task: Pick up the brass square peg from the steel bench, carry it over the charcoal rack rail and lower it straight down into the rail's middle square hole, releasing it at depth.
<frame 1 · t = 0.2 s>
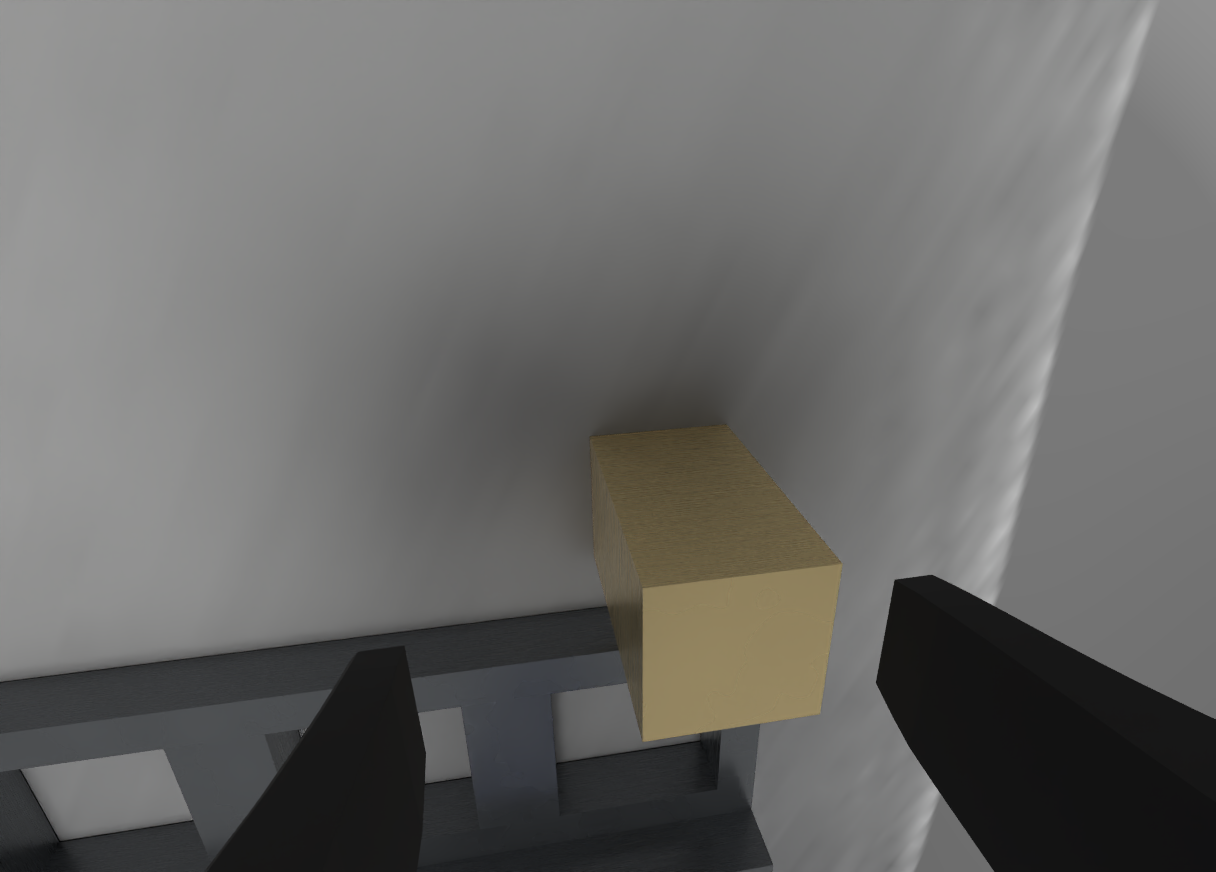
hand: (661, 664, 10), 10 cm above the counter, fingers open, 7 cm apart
brass peg: (658, 491, 20), on the counter
charcoal rail: (388, 732, 22), on the counter
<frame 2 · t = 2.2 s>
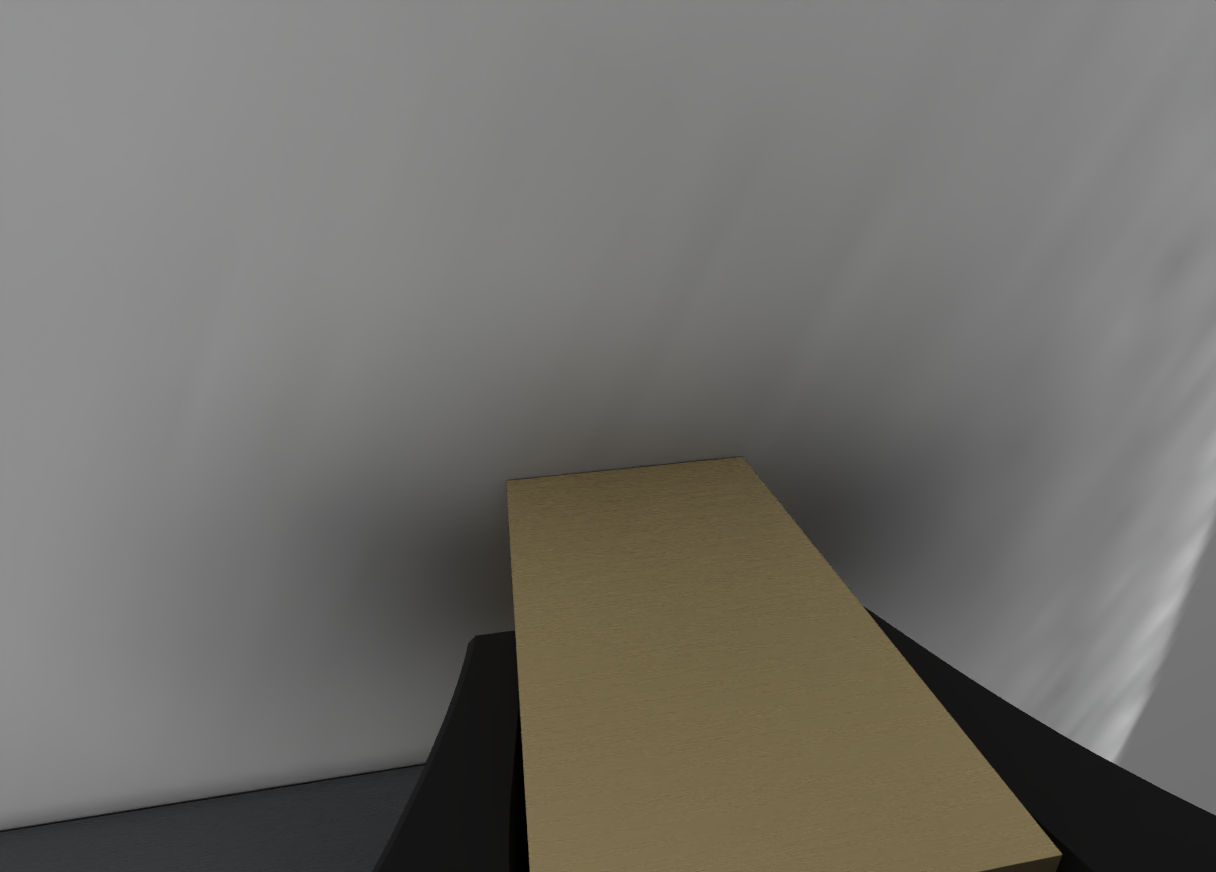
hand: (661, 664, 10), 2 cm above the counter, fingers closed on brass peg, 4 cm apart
brass peg: (629, 568, 12), on the counter, touching gripper
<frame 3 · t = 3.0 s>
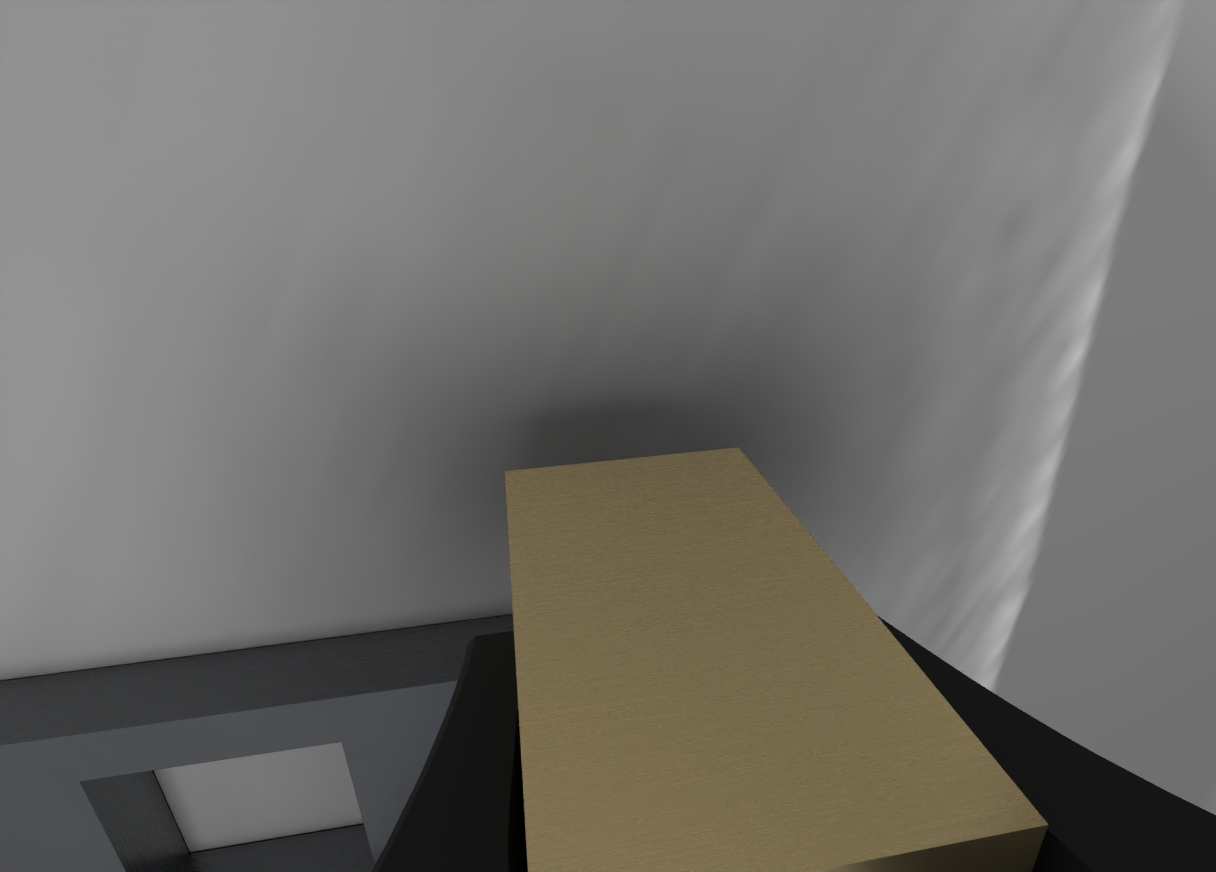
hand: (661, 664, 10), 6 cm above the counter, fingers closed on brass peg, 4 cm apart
brass peg: (626, 558, 12), point 4 cm above the counter, touching gripper
charcoal rail: (269, 769, 18), on the counter
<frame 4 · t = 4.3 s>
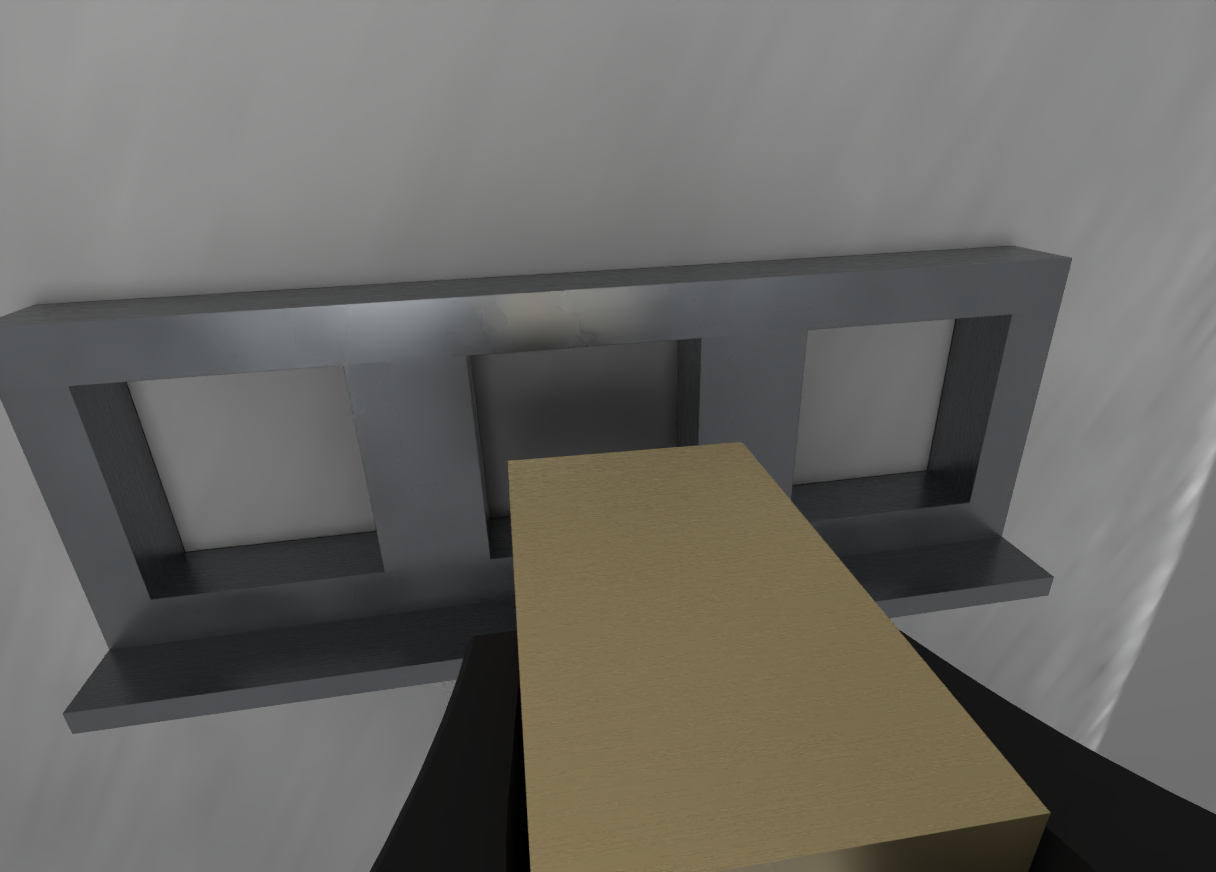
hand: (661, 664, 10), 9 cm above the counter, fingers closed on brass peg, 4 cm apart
brass peg: (627, 551, 12), point 7 cm above the counter, touching gripper
charcoal rail: (580, 422, 18), on the counter
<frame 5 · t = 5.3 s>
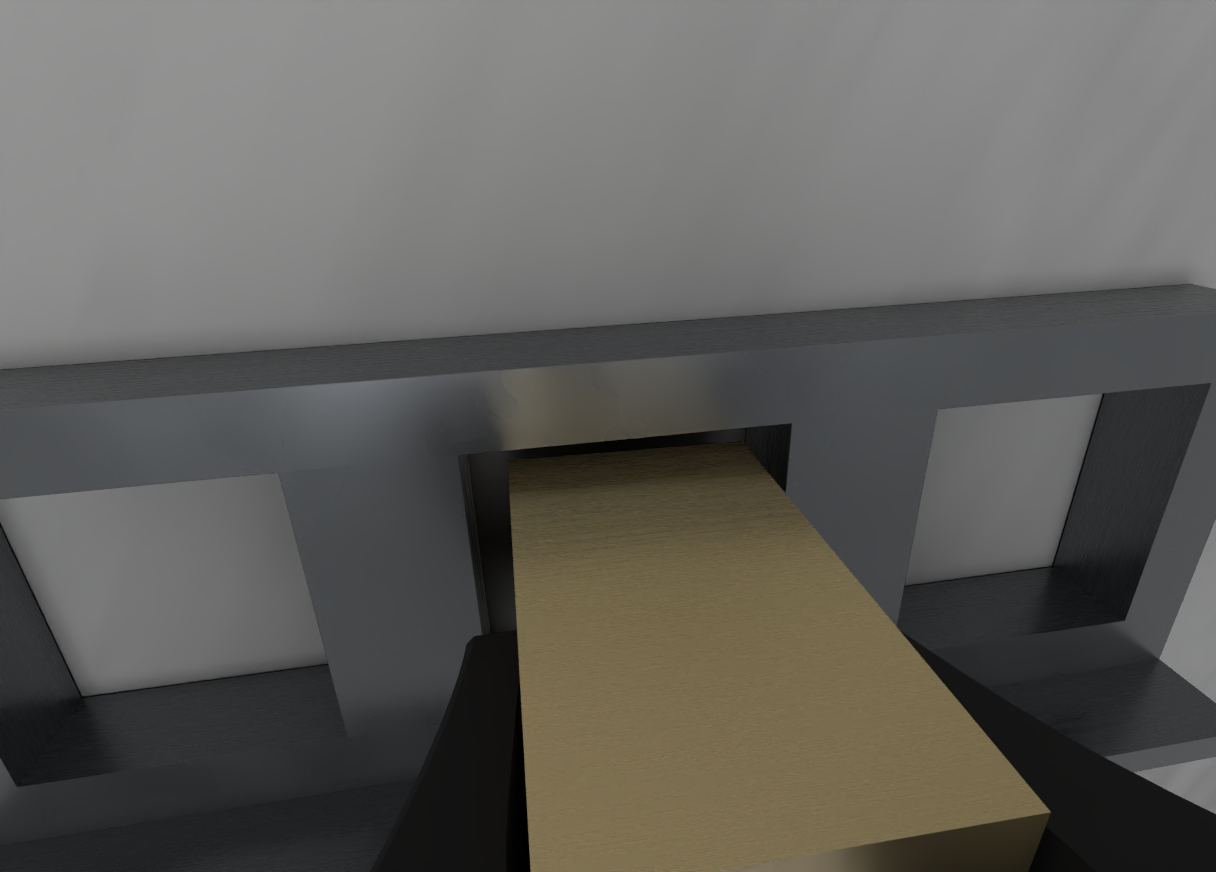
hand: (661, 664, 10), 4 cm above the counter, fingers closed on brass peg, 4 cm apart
brass peg: (627, 551, 12), point 2 cm above the counter, touching gripper
charcoal rail: (613, 519, 13), on the counter
when the fingers open (3 cm above the counter, at t = 6.3 s): brass peg stays where it is, resting in charcoal rail.
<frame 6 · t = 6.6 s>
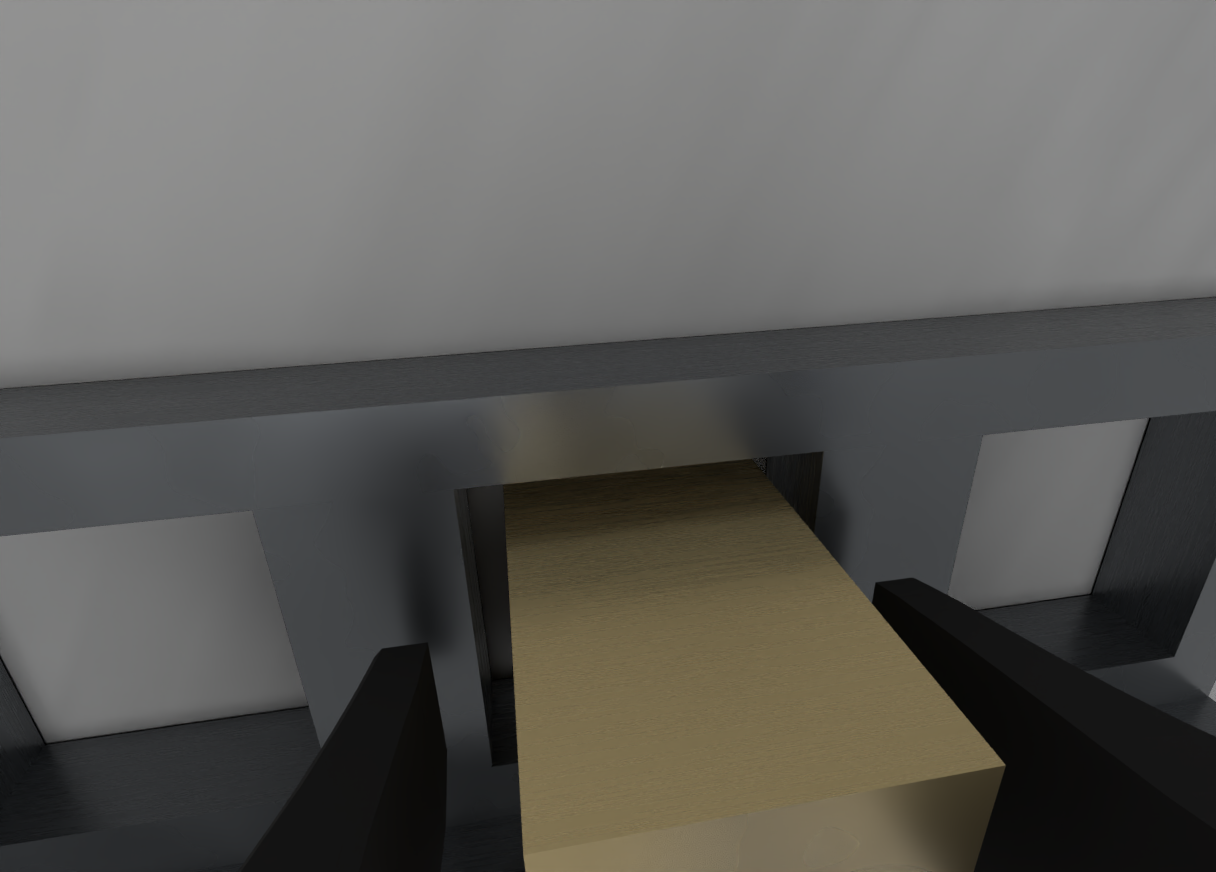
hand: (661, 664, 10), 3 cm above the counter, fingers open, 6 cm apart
brass peg: (620, 539, 12), resting in charcoal rail
charcoal rail: (623, 550, 12), on the counter
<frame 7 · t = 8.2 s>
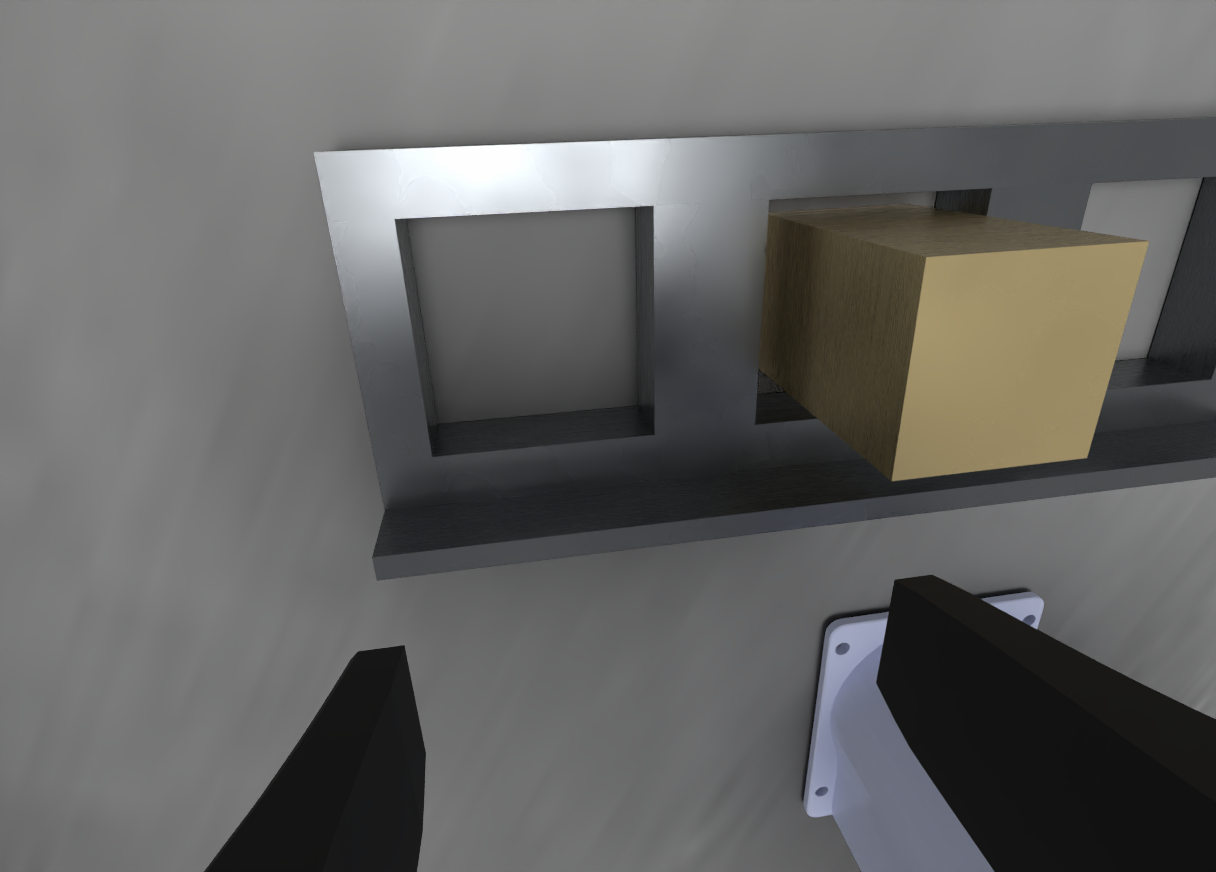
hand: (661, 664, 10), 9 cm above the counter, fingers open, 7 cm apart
brass peg: (828, 286, 18), resting in charcoal rail
charcoal rail: (829, 294, 18), on the counter
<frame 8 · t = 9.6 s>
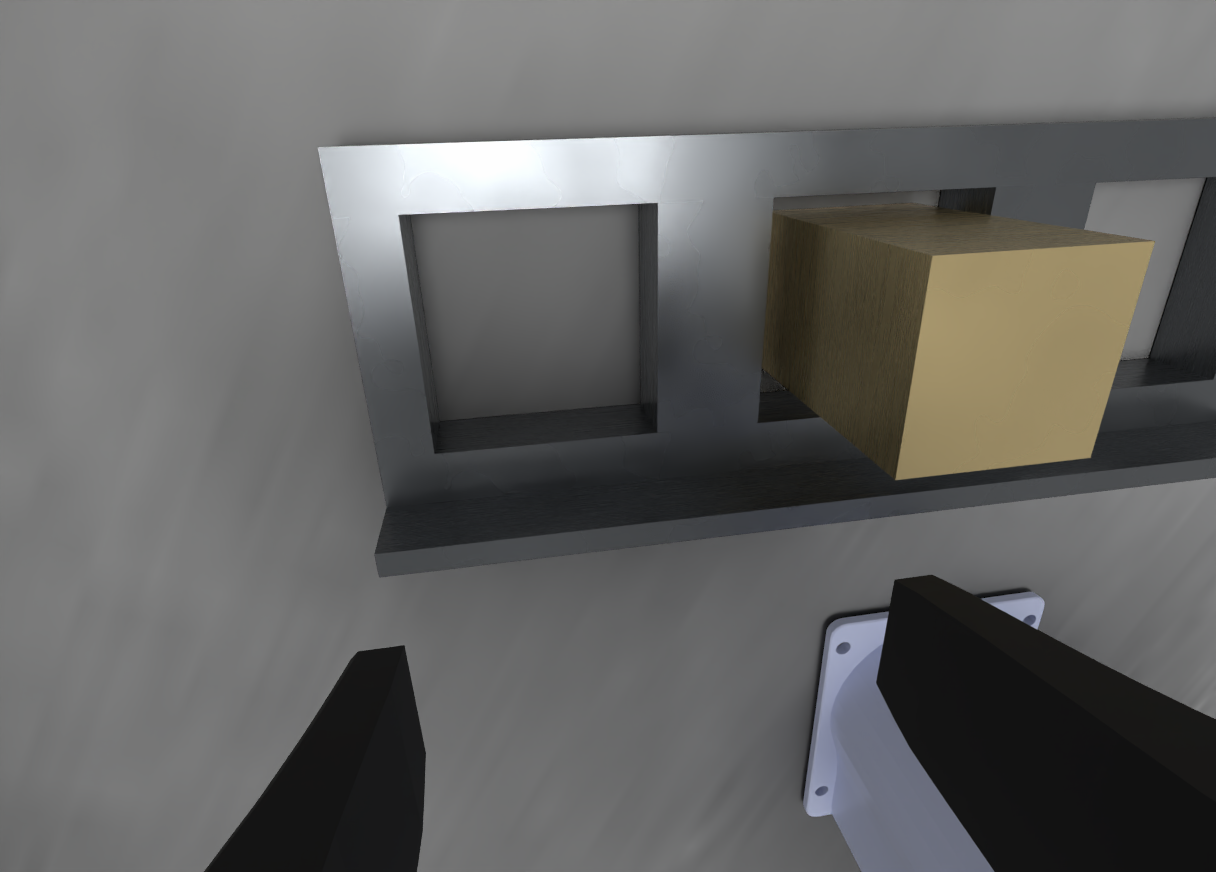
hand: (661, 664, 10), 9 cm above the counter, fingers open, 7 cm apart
brass peg: (831, 285, 18), resting in charcoal rail
charcoal rail: (832, 293, 18), on the counter
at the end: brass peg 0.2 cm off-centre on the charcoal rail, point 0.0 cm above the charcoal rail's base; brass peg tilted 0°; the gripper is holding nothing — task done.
